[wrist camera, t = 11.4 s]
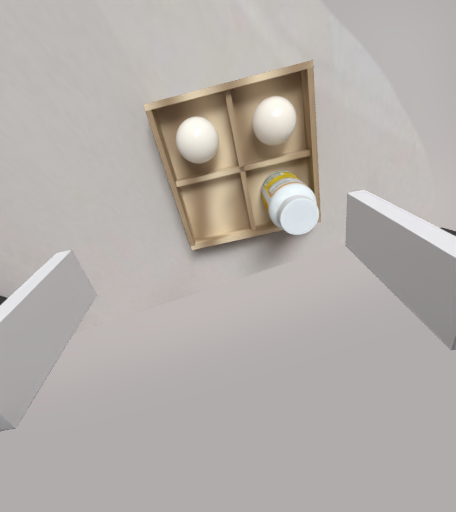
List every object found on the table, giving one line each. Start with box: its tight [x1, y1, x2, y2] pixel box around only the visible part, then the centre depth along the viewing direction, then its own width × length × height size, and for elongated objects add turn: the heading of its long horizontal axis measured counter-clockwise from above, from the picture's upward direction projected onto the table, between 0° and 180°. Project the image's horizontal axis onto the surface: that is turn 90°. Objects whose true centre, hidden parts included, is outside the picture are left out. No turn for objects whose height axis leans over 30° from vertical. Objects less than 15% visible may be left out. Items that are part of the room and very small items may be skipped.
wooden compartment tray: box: [144, 60, 321, 250], centre depth 32 cm, size 18×18×3 cm
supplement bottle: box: [260, 171, 319, 235], centre depth 31 cm, size 5×5×10 cm
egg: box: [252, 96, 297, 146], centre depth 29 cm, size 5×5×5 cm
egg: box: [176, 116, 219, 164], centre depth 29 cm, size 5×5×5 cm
